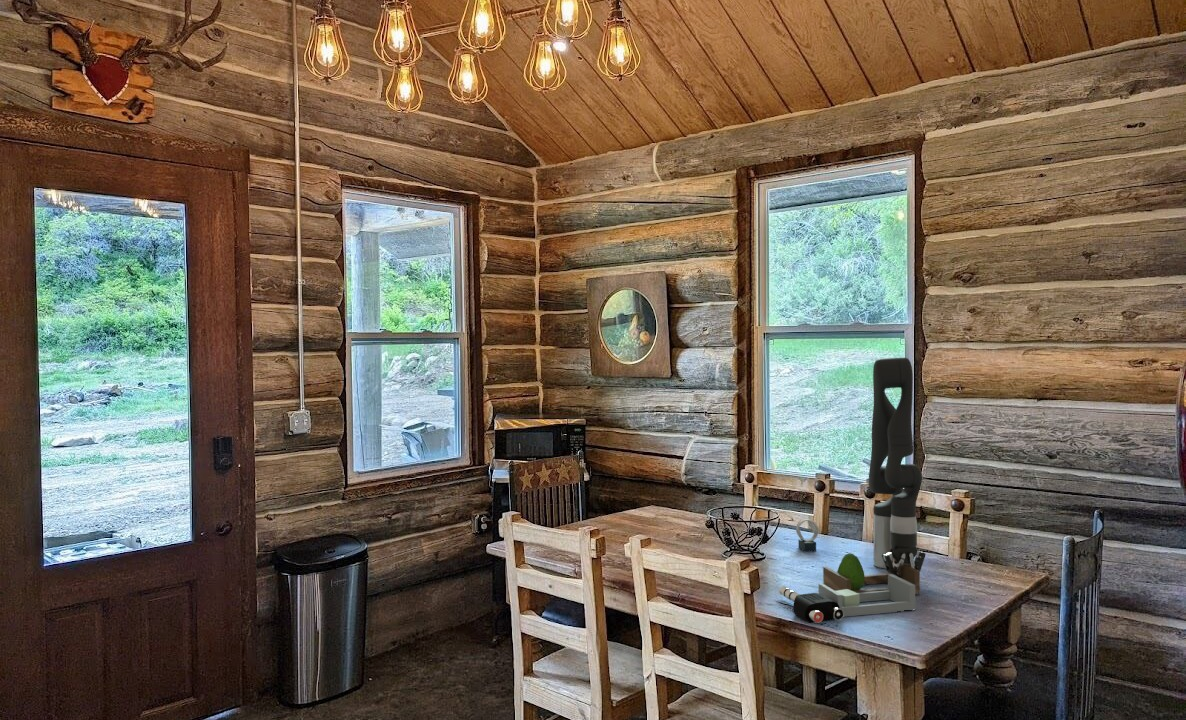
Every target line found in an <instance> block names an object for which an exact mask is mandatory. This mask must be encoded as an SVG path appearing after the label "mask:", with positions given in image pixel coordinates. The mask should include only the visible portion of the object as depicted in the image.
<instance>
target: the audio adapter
mask: <svg viewBox="0 0 1186 720" xmlns="http://www.w3.org/2000/svg"><path fill="white" fill-rule="evenodd" d="M778 593H779V595H780V596H783V597H785V598H786V599H787V600H790V601H792V602H793V606H792V609H793V613H794V615H795V616H798V617H799V618H801V619H803V620H804V621H805V622H808V623H809V624H813V623H814V624H815V623H816V624H820V623H821V622H822V623H823V622H829V621H835V620H836V621H840V620H842V619H843V618H844V617H843V615H844V613H843V610H842V609H840V607H839V605H838V604H837V603H836V602H834V601H832V600H830V599H828V598H827V597H825V596H823V595H821V594H819V592H811V593H809V592H808V593H801V594H800V593H798V592H796V591H794V590H792V589H790V588H788V587H786V586H785V585H782V586H780V587H779V589H778Z"/></svg>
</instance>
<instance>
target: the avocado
mask: <svg viewBox="0 0 1186 720" xmlns="http://www.w3.org/2000/svg"><path fill="white" fill-rule="evenodd" d="M859 559H860V558H858V557H857V556H856V555H855V554H854V553H851V552H849V553H845V554H844V556H843V557H842V559H841V562H840V564H839V566H838V569H837V571H836V572H837V573H839V574H841V575H843V576H844V577H846V578H848V579H850V580H851V591H854V590H862V589H863V587H864V585H865V584H864V580H865V577H864V575H865V571H864V569H863V566H862V563H861V562H860V560H859Z"/></svg>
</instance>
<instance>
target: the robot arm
mask: <svg viewBox="0 0 1186 720" xmlns="http://www.w3.org/2000/svg"><path fill="white" fill-rule="evenodd" d="M912 367H913V366H912V363H911V361H910V359H909V358H908V357H887V358H879V359H876V360H875V361H874V363H873V367H872V368H873V369H872V382H873V383H872V385H873V386H872V387H873V388H872V389H873V405H872V406H873V409H872V424H871V455H870V456H871V457H870V461H869V463H870V464H869V471H868V488H869V491H870V492H871V493H873V494H879V495H891V497H890V498H888V499H887V500H885V501H882V502H878V503H875V504H874V505H873V507H872V508H873V509H872V510H873V511H872V512H873V524H872V525H873V526H872V527H873V565H874V566H875V567H877V568H881V569H885V570H886V572H887V573H888V572H890V573H892V574H893V575H895V576H898V577H900V578H901V576H900V572H901V568H902V567H903V564H906V565H908V566H910V567H912V568H914V569H917V570H919V571H920V572H921V570H922V567H923V564H924V561H925V558H926V553H925V552H923V551H921V550H918V548H917V545H918V521H917V500H918V497H919V493H920V490H921V486H922V483H923V474H922V471H921V469H920V467H919V466H918V465H917V464H914V463H905V464H904V463H903V464H902V461H903V459H904V458H906V457H909V456H911V455H913V454H914V440H913V430H912V426H913V425H912V412H913V385H914V384H913V377H914V376H913V375H914V374H913V368H912ZM899 388H900V390H901V392H900V397H899V398H900V399H899V403H898V404H897V407H895V406H894V405H893V404H892V403H891V401H890V400H889V398H888V396H887V395H886V390H887V389H899ZM885 460H886V465H883V464H884V461H885ZM892 559H893V565H892V562H891V560H892ZM898 563H899V564H898Z"/></svg>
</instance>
